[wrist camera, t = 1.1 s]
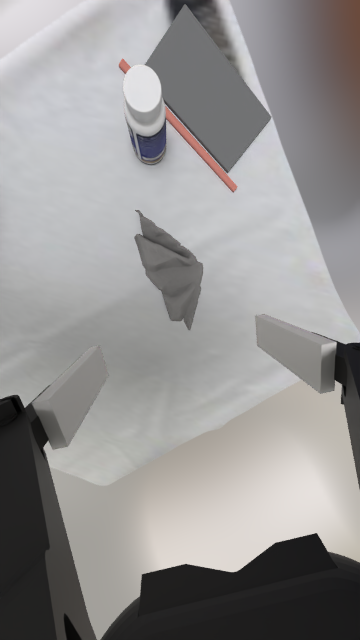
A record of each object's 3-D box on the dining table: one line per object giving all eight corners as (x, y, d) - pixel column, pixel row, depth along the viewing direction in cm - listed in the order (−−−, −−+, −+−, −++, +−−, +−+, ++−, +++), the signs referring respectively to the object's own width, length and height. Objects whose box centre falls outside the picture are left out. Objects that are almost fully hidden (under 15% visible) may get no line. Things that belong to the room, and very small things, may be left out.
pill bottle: (172, 141, 31) (174, 81, 22) (155, 172, 32) (150, 129, 23) (143, 118, 30) (132, 44, 21) (126, 151, 31) (109, 95, 22)
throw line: (119, 67, 29) (118, 64, 28) (123, 61, 28) (122, 58, 28) (233, 192, 34) (233, 191, 34) (236, 187, 34) (237, 186, 33)
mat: (140, 75, 29) (140, 72, 28) (184, 8, 27) (185, 3, 27) (227, 173, 33) (228, 171, 33) (269, 119, 32) (271, 117, 31)
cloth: (213, 326, 41) (215, 329, 39) (153, 339, 40) (153, 342, 38) (192, 198, 34) (193, 193, 32) (121, 213, 34) (118, 208, 32)
